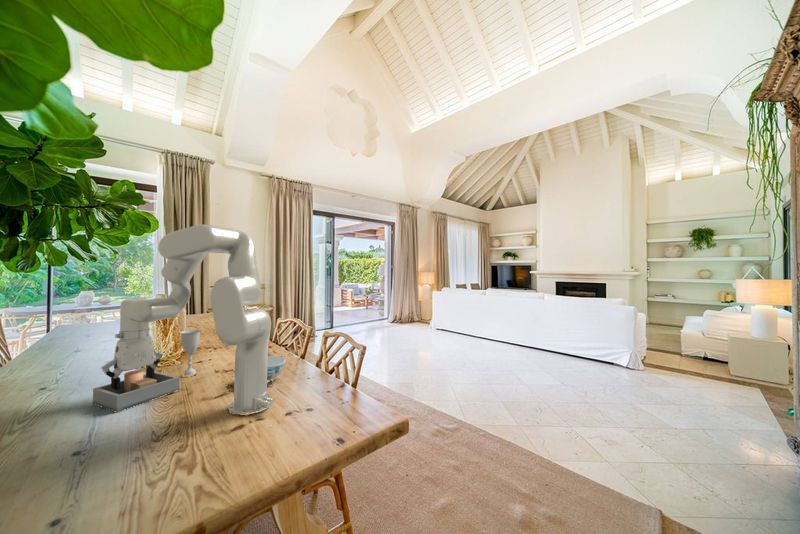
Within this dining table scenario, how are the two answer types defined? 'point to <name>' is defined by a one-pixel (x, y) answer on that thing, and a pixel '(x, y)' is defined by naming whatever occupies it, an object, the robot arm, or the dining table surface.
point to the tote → (134, 393)
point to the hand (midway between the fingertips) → (133, 384)
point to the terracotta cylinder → (131, 378)
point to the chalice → (190, 346)
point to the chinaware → (274, 366)
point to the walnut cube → (142, 383)
